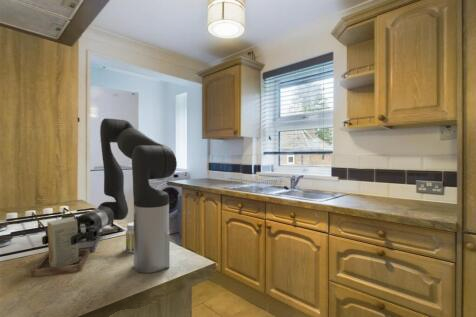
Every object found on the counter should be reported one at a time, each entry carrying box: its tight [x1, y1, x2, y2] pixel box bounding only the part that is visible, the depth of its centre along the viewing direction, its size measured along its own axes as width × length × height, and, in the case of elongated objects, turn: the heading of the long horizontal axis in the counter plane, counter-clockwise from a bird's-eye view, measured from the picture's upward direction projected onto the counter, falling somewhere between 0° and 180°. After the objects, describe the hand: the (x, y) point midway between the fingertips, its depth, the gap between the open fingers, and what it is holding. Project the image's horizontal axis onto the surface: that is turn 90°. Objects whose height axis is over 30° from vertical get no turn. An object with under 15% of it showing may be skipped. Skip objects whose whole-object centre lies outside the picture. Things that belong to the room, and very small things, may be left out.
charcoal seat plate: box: [78, 235, 101, 253], centre depth 85 cm, size 11×11×1 cm
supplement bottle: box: [125, 221, 134, 253], centre depth 83 cm, size 5×5×8 cm
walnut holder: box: [30, 248, 91, 278], centre depth 73 cm, size 11×12×2 cm
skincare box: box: [46, 216, 80, 268], centre depth 72 cm, size 6×4×12 cm
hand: (58, 241), depth 70 cm, fingers closed on skincare box, 7 cm apart
